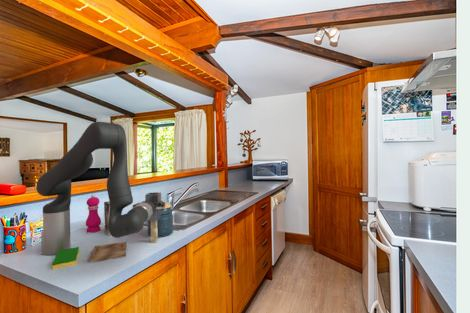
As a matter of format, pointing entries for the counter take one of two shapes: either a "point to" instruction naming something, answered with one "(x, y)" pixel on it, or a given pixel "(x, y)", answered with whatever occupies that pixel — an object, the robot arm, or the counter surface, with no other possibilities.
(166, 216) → the canister
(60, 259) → the dish sponge
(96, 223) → the pepper mill
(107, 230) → the coffee box
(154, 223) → the post
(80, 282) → the counter surface
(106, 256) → the tray
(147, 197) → the grey square container
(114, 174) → the robot arm
